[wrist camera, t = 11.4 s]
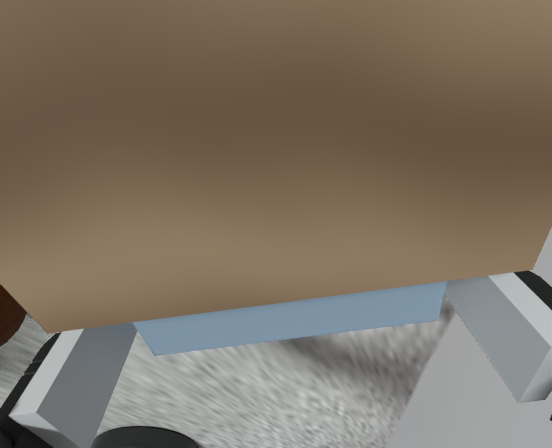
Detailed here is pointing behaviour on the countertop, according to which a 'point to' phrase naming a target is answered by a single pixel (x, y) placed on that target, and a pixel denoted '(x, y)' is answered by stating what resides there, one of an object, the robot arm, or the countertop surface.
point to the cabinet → (266, 150)
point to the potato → (9, 315)
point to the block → (294, 319)
